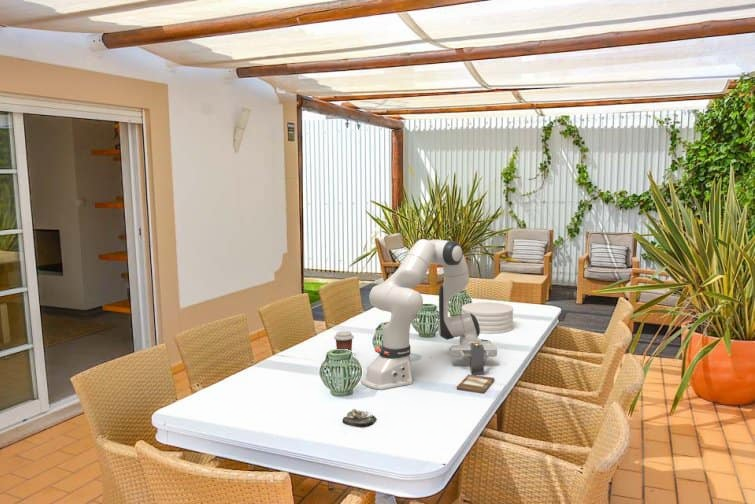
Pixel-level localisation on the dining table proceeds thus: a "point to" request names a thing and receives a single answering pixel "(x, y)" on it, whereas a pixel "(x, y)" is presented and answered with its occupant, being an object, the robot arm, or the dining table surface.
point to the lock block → (476, 359)
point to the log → (359, 418)
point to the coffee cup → (344, 340)
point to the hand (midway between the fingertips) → (475, 356)
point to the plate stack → (491, 316)
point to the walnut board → (475, 383)
